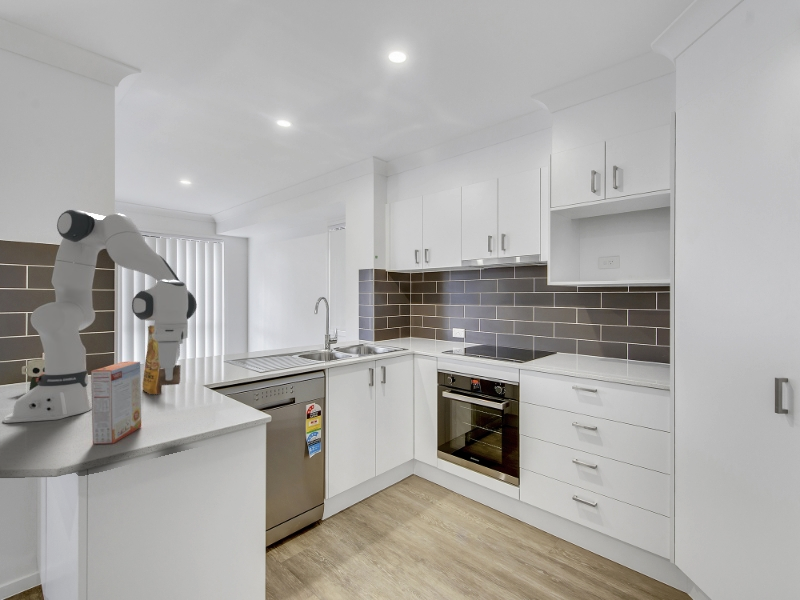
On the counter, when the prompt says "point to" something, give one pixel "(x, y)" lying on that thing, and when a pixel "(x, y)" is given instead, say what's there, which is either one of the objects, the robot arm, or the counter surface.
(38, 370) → the character mug
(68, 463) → the counter surface
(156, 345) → the pancake mix bag
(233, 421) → the counter surface
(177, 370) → the walnut cube
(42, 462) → the counter surface
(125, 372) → the cracker box
